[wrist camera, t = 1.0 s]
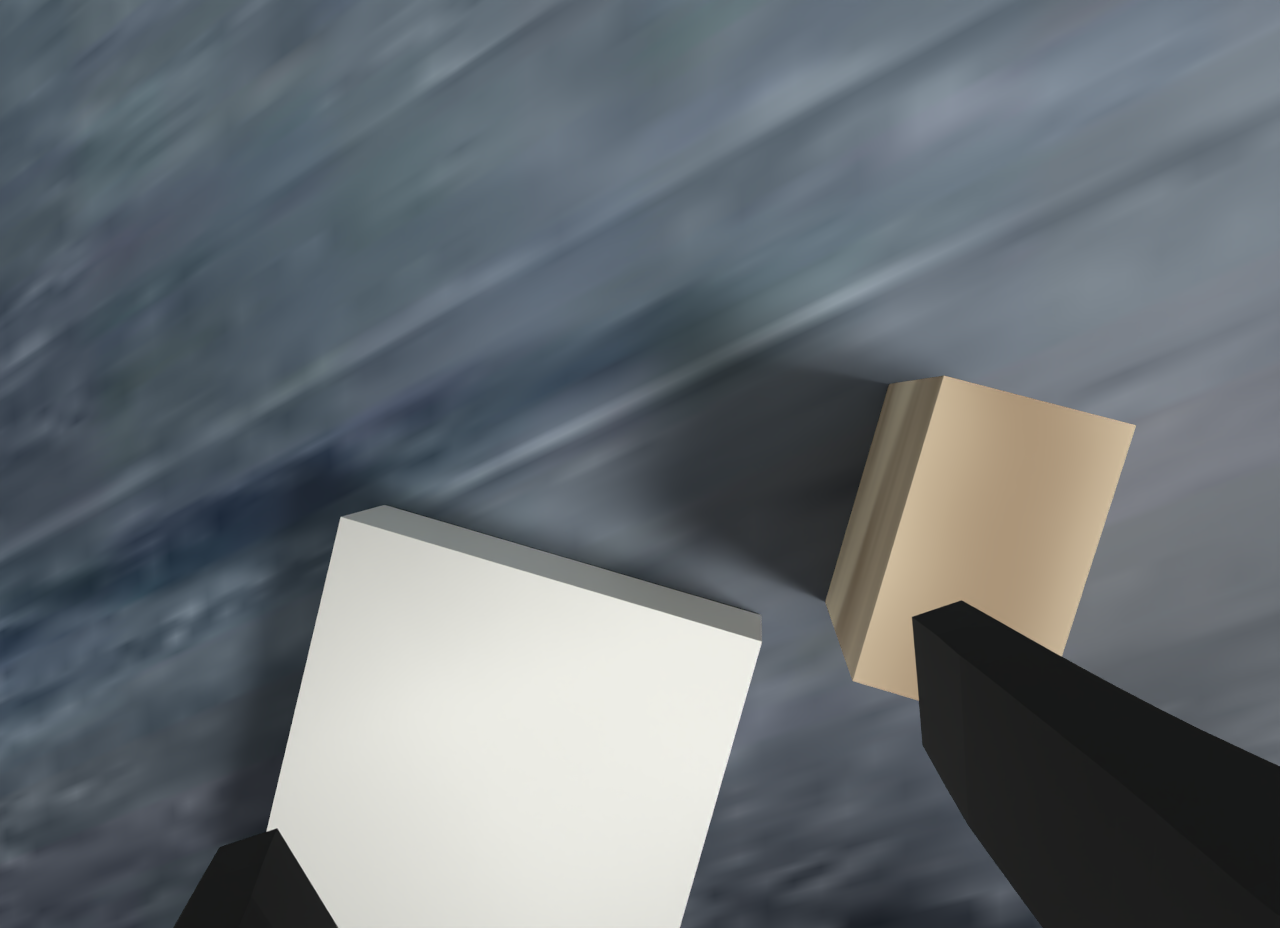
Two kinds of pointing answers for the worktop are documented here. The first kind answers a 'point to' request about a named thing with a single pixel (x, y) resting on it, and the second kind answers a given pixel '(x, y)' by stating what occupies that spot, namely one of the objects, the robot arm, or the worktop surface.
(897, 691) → the block
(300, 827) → the board
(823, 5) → the worktop surface
